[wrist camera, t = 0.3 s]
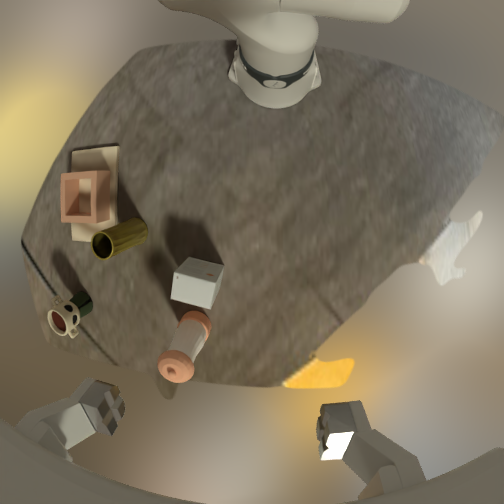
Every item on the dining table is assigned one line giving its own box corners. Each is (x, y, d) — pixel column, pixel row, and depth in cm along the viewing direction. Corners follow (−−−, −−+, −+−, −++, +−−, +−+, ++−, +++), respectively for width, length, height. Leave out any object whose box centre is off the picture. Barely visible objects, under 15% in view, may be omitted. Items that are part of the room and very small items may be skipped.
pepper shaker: (215, 318, 60) (196, 371, 42) (205, 342, 62) (184, 395, 43) (186, 305, 60) (157, 352, 41) (177, 329, 62) (148, 379, 43)
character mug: (102, 316, 62) (76, 340, 50) (86, 321, 63) (60, 344, 51) (83, 279, 60) (53, 298, 48) (68, 287, 61) (39, 305, 49)
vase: (127, 213, 55) (91, 224, 41) (151, 222, 55) (118, 235, 42) (122, 239, 57) (86, 255, 43) (144, 248, 57) (112, 267, 43)
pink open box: (75, 173, 52) (61, 173, 47) (110, 170, 52) (96, 170, 47) (75, 218, 55) (61, 222, 50) (109, 219, 55) (96, 223, 49)
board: (74, 151, 52) (72, 151, 51) (119, 146, 51) (117, 145, 50) (74, 239, 57) (72, 240, 57) (118, 242, 57) (116, 243, 56)
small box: (184, 279, 58) (169, 299, 48) (188, 255, 57) (172, 271, 47) (220, 288, 58) (210, 310, 48) (225, 265, 57) (216, 282, 47)
